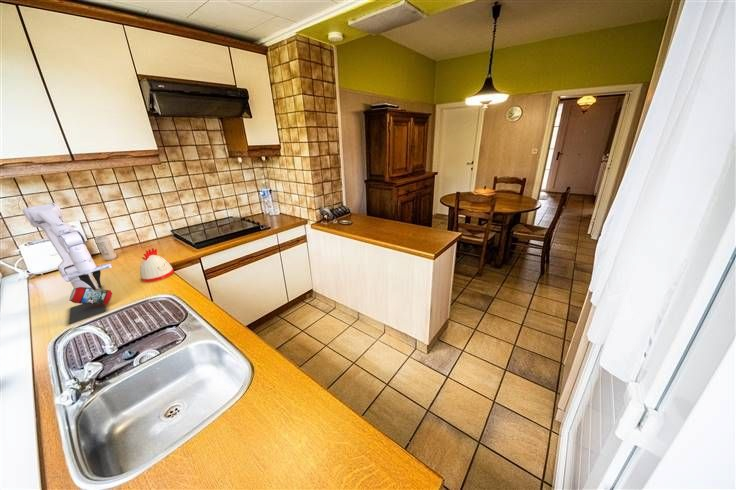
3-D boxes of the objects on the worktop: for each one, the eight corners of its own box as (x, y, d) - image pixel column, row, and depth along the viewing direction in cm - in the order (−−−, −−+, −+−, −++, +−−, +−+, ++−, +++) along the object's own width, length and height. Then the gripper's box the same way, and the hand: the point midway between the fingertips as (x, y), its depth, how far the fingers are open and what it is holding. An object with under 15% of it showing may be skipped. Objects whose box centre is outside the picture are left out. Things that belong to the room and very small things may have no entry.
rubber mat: (71, 308, 118) (70, 307, 118) (104, 297, 125) (103, 296, 125) (69, 324, 107) (68, 323, 107) (105, 311, 114) (105, 310, 114)
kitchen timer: (179, 269, 148) (170, 245, 142) (157, 282, 136) (146, 256, 130) (158, 268, 151) (148, 244, 145) (135, 281, 138) (123, 255, 132)
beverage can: (109, 304, 116) (70, 301, 107) (105, 306, 120) (67, 303, 111) (114, 289, 119) (76, 284, 110) (110, 291, 122) (72, 288, 113)
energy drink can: (119, 257, 170) (109, 235, 164) (109, 261, 164) (98, 238, 159) (112, 256, 171) (102, 235, 165) (102, 260, 166) (91, 238, 160)
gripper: (56, 269, 103) (73, 298, 108) (106, 256, 112) (119, 284, 117) (58, 264, 108) (74, 292, 113) (105, 252, 117) (118, 279, 122)
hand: (97, 288), depth 115 cm, fingers closed
